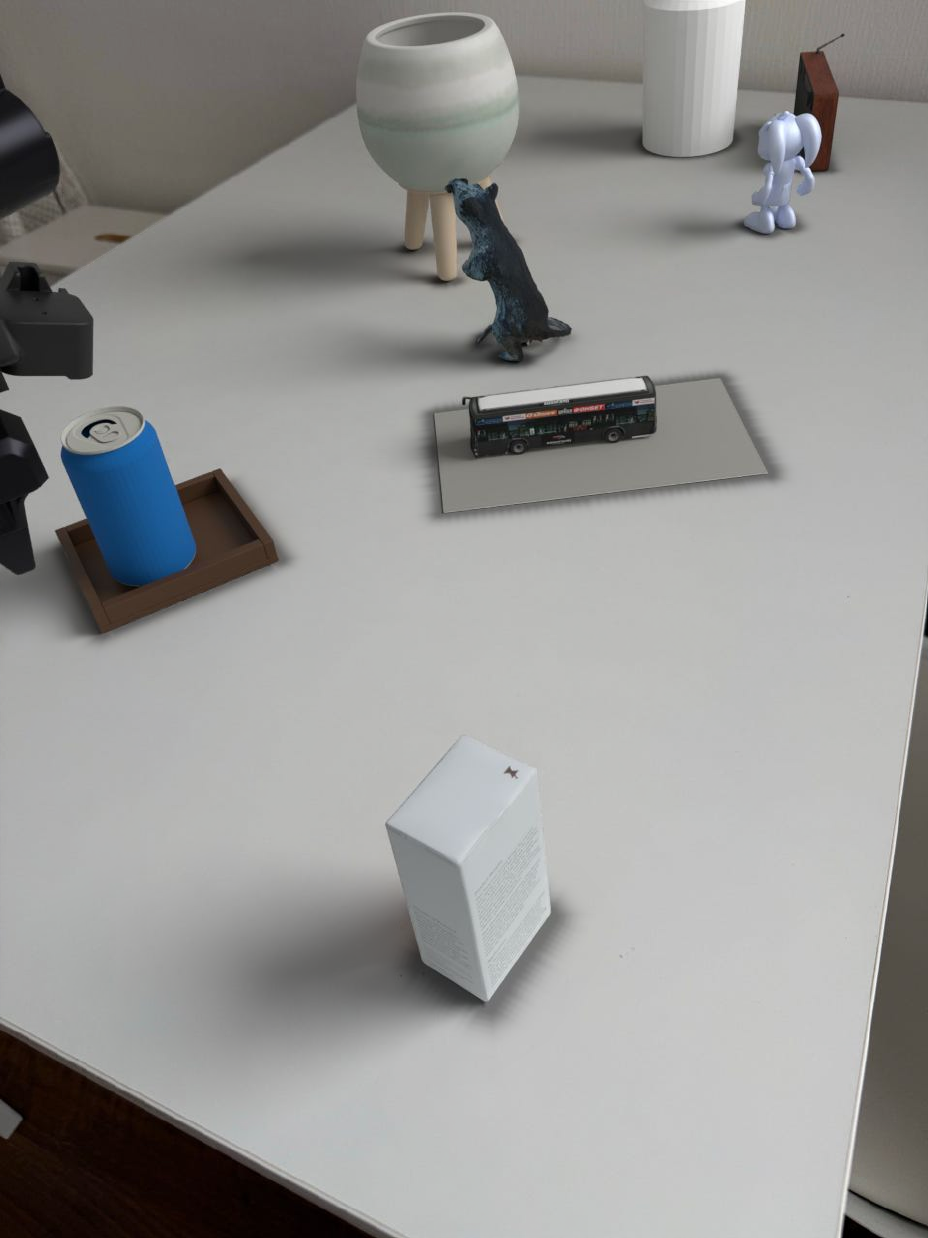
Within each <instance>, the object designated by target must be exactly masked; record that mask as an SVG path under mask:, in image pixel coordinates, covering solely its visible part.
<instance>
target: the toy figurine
mask: <svg viewBox="0 0 928 1238" xmlns="http://www.w3.org/2000/svg"><path fill="white" fill-rule="evenodd" d="M793 114H794V113H793ZM793 114H792V113H791V112H789V111H788V110H785V111H782V112H779V113H775V114H774V115H771V116H770V117H769V119H768V120H767V121H766V122H765V123H763V125H762V126H761V128H760V129H759V130H758V134H757V135H758V146H757V154H758V156H759V157H760V158H761V159H763V160H766V161H769V162H767V163H766V164H764V166H763V170H762V172H763V175H764V185H763V186H762V187H761V188H760V189H759V190H758V191H754V192H753V193H752V194H751V204H752V205H753V206H756V207H760V210H759V211H752V212H750V213H748V214H747V215H746V217H745V218H744V221H743V225H744V227H746V228H749V229H750V230H752V231H755V232H756V233H759V234H763V235H770V234H772V233H773V232H774V231H775V228H776V226H775V225H776V224H777V226H778V227H779V228H782V229H794V227H795V226H796V224H797V220H796V219H797V218H796V214H795V211H794V209H793V207H792V206H791V205H790V201H791V193H792V186H793V176H794V173H795V171H799V172H800V173H801V175H803V177H804V178H803V180H802V181H801V183H800V184H799V185H798V187H796V193H797V195H798V196H800V197H803V196H806V195H809V194H810V193H811V192H812V191H813V190H814V188H815V184H816V180H815V176H814V174H813V172H812V171H811V170H810V169H809V168H808V167H809V166H810V165H811V164H812V163H813V162H814V160H815V158H816V156H817V154H818V151H819V148H820V143H821V130H820V126H819V124H818V121H817V120H816V118H815V117H814V116H813V115H811V114H801V115H799V116H797V117H796V116H795V115H793ZM803 146H804V150H805V161H804V159H803V158H802V157H801V155H798V154H800V151H801V149H802V148H803Z"/></svg>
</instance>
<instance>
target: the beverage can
mask: <svg viewBox="0 0 928 1238" xmlns="http://www.w3.org/2000/svg"><path fill="white" fill-rule="evenodd" d="M60 443H61V445H62V446H61V448H60V460H61V463H62V465H63V468H64V470H65V472H66V474H67V476H68V478H69V479H68V480H69V481H70V484H71V486H72V488H73V491H74V492H75V495H76V497H77V500H78V502H79V504H80V507H81V509H82V511H83V513H84V516H85V519H86V518H87V520H88V523H89V525H90V527H91V530H92V532H93V534H94V537H95V539H96V541H97V544H98V546H99V548H100V550H101V553H102V555H103V557H104V560H105V562H106V564H107V567H108V569H109V571H110V573H111V575H112V577H113V578H114V579H115V580H117V581H118V582H120V583H123V584H126V585H131V586H138V587H141V586H144V585H146V584H149V583H151V582H154V581H156V580H159V579H161V578H164V577H166V576H169V575H171V574H174V573H176V572H178V571H181V570H183V569H185V568H187V567H188V565H189V564H190V563H191V562H192V560H193V559H194V556H195V553H196V544H195V541H194V538H193V535H192V533H191V530H190V527H189V524H188V521H187V518H186V516H185V513H184V510H183V507H182V504H181V501H180V498H179V496H178V493H177V490H176V487H175V485H176V484H175V482H174V479H173V475H172V472H171V471H170V470H171V469H170V467H169V465H168V461H167V459H166V456H165V453H164V450H163V448H162V445H161V441H160V439H159V436H158V433H157V430H156V429H155V427H154V425H152V424H151V423H150V422H149V421H148V420H146V419H145V416H144V414H143V413H142V412H141V411H140V410H139V409H137V408H135V407H130V406H125V405H113V406H104V407H100V408H96V409H93V410H90V411H88V412H85V413H83V414H81V415H79V416H77V417H76V418H74V419H73V420H71V421H70V422H69V423H68V424H67V425H66V426H65V427H64V428H63V429H62V432H61V434H60Z"/></svg>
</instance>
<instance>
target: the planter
mask: <svg viewBox="0 0 928 1238" xmlns="http://www.w3.org/2000/svg"><path fill="white" fill-rule="evenodd" d="M355 84H356V85H355V96H356V97H355V99H356V100H355V101H356V102H355V103H356V104H355V105H356V115H357V120H358V126H359V130H360V134H361V135H360V136H361V137H362V138H361V139H362V140H363V143H364V145H365V147H366V150H367V152H368V154H369V155H370V157H371V158H372V160H373V161H374V162H375V164H376V165H377V167H379V168H380V169H381V170H382V172H383V173H385V174H386V175H387V176H388V177H389V178H390V179H392V180H393V181H394V182H396V183H398V185H399V186H400V187H401V188H402V189H404V190H406V205H405V206H406V207H405V220H404V232H403V233H404V234H403V235H404V240H403V241H404V242H403V243H404V244H403V245H404V246H405V248H407V249H408V250H411V251H412V250H413V251H414V250H418V249H420V248H421V247H422V246H423V245H424V239H425V233H426V224H427V219H428V214H429V213H428V212H429V206H430V216H431V227H432V234H433V245H434V246H433V247H434V255H435V265H436V272H437V277H438V278H439V279H440V280H442V281H444V282H449V281H452V280H455V278H456V277H457V275H458V249H457V248H458V247H457V246H458V245H457V240H458V239H457V215H456V212H455V206H454V199H453V194H452V193H447V191H446V190H445V186H446V185H448V182H449V181H450V180H452V179H455V178H457V179H460V178H466V179H467V180H468V185H472V184H476V183H477V184H479V185H480V186H481V187H482V188H483V189H484V190H485V188H487V187H489V186H490V185H491V184H492V183H493V182H492V180H491V176H492V175H493V172H494V171H495V170H497V168H498V167H499V166H500V165H501V164H502V162H503V160H505V158H506V157H507V154H508V153H509V150H510V149H511V147H512V145H513V142H514V140H515V137H516V134H517V130H518V126H519V118H520V96H519V85H518V81H517V76H516V71H515V67H514V62H513V60H512V57H511V53H510V51H509V47H508V45H507V43H506V41H505V38H504V35H503V34H502V32H501V30H500V28H499V27H498V25H497V24H496V22H495V21H494V20H493V18H491V17H489V16H487V15H484V14H480V13H474V12H463V11H457V12H456V11H453V12H452V11H451V12H435V13H434V12H433V13H427V14H425V13H424V14H419V15H413V16H408V17H404V18H399V19H396V20H393V21H389V22H386V23H384V24H381V25H379V26H376V27H375V28H374V29H372V30H371V31H369V32H368V33H367V34H366V36H365V37H364V40H363V43H362V47H361V49H360V54H359V59H358V65H357V73H356V83H355ZM495 203H496V205H497V208H498V211H499V214H500V217H501V219H502V221H503V223H504V225H505V226H506V224H505V223H506V222H505V221H504V217H503V215H502V212H501V208H500V206H499V203H498V199H497V198H496V199H495Z"/></svg>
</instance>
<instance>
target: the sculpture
mask: <svg viewBox="0 0 928 1238" xmlns="http://www.w3.org/2000/svg"><path fill="white" fill-rule="evenodd" d="M491 183H492V184H491V185H490V186H489V187H487V188H485V190H484V189H483V188H482V187H481V186H480V185H479V184H477V183H476V184H472V185H468V180H467V179H466V178H460V179H457V178H455V179H452V180H450V181H449V182H448V185H446V186H445V190H446V191H447V193H452V194H453V199H454V206H455V213H456V217H457V218H458V219H459V220H460V221H461V222H462V223H463V224H464V225H465V226H466V228H467V230H468V231H469V234H470V238H471V246H472V248H471V251H470V253H469V255H468V258H467V259H465V261H464V263H462V264H461V270H462V272H463V274H465V276H466V277H467V278H469V279H472V280H474V281H478V282H486V281H487V282H488V283H489V286H490V288H491V291H492V293H493V296H494V299H495V300H494V301H495V307H496V311H495V315H494V318H493V322H492V323H491V324H489V325H488V326H487V327H486V328H485V329H484V331H483V332H482V333H481V335H479V338H478V339H477V344H479V345H480V344H481V342H483V340H484V339H485V338H486V337H487V336H489V334H490V333H491V332H492V335H493V336H494V339H495V341H496V343H498V344H499V345H500V346H501V347H502V348H503V350H505V351H504V352H500V354H499V355H498V356H497V357H498V358H500V359H501V360H504V361H510V362H522V361H524V357H525V356H524V350H523V347H522V343H524V344H527V345H528V346H530V344H532V342H533V341H538V342H539V343H541V344H542V343H543V342H544V341H546V340H549V339H555V338H556V339H557V338H565V337H570V336H571V334H572V330H573V328H572V327H571V325H569V324H568V323H566V322H564V321H562V320H559V319H557V318H555V317H553V316H552V317H550V316H549V312H550V311H549V307H548V304H547V303H546V300H545V297H544V296H543V294H542V293H541V291H540V290H539V288H538V286H537V283H536V282H535V280H534V278H533V276H532V273H531V271H530V269H529V266H528V264H527V260H526V258H525V256H524V253H523V250H522V249H521V247H520V246H519V244H518V243H517V240H516V239H515V238H514V236H513V235H512V233H511V232H510V231H509V229H508V227H507V226H506V224H505V225H504V223H505V222H504V223H503V221H502V219H501V217H500V214H499V211H498V208H497V205H496V203H495V199H497V197H498V194H499V186H498V184H497V183H496V182H491ZM551 327H555V328H557V329H553V328H551Z"/></svg>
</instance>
